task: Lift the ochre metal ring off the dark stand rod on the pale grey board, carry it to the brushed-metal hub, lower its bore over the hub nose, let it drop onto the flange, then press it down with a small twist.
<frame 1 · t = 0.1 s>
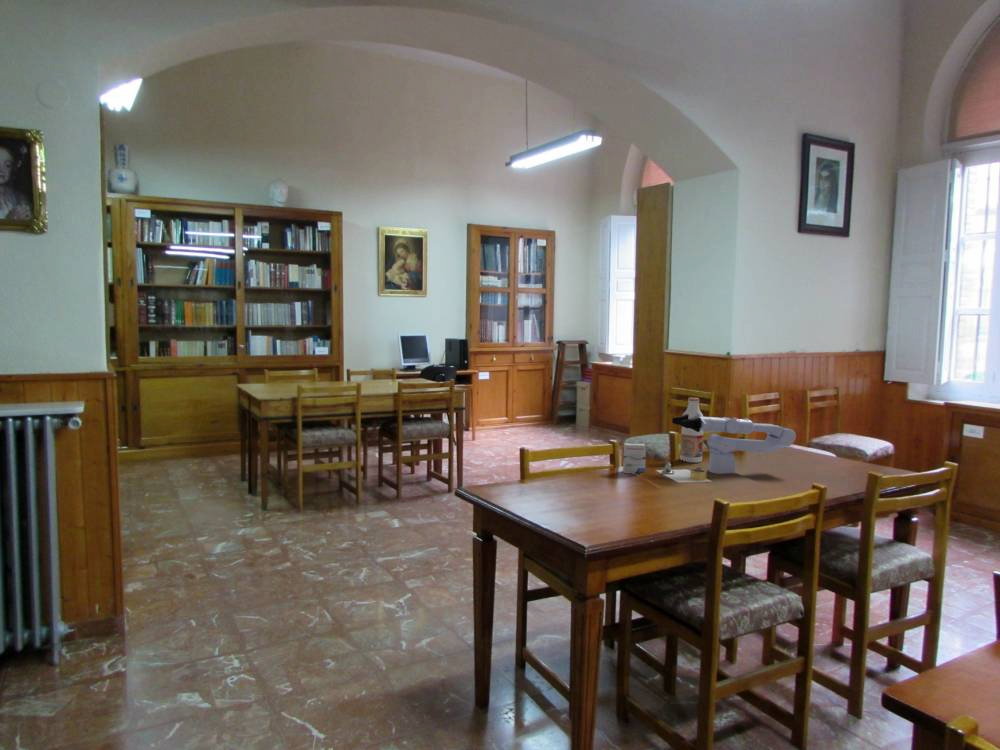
hand: (677, 422, 265), 22 cm above the table, tool horizontal, fingers open, 7 cm apart
hub: (667, 475, 266), resting on board
board: (682, 478, 262), on the table
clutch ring: (698, 478, 258), point 1 cm above the table, touching board
ink box: (633, 473, 270), on the table
fruit juice: (690, 461, 295), on the table
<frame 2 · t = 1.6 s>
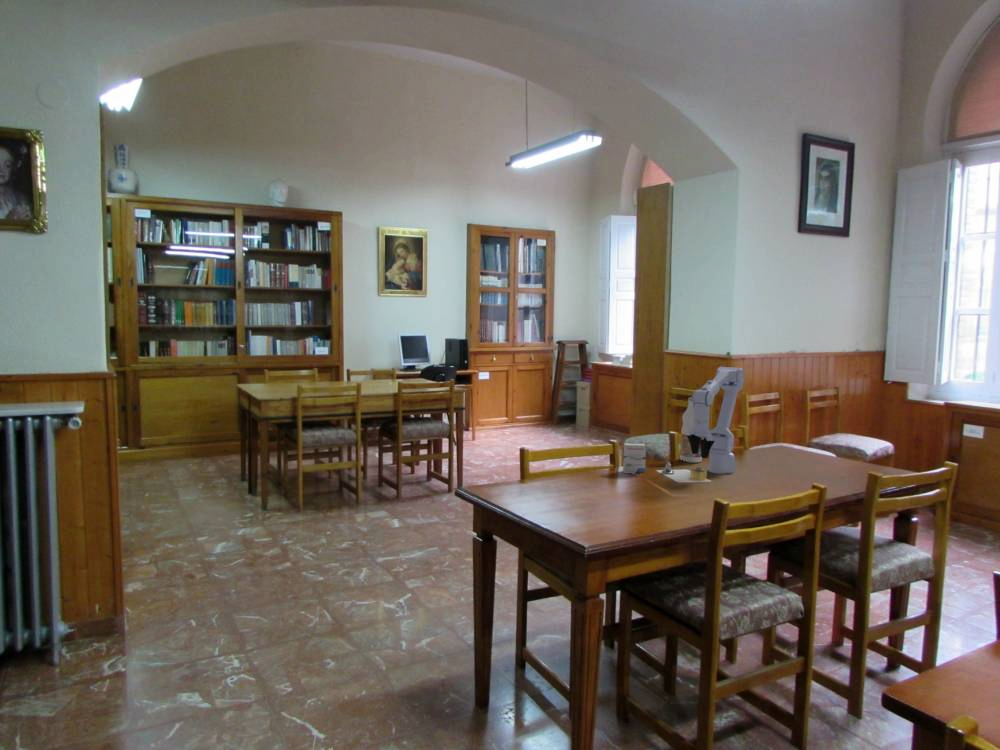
hand: (699, 455, 257), 10 cm above the table, tool pointing down, fingers open, 7 cm apart
nothing on the table moved.
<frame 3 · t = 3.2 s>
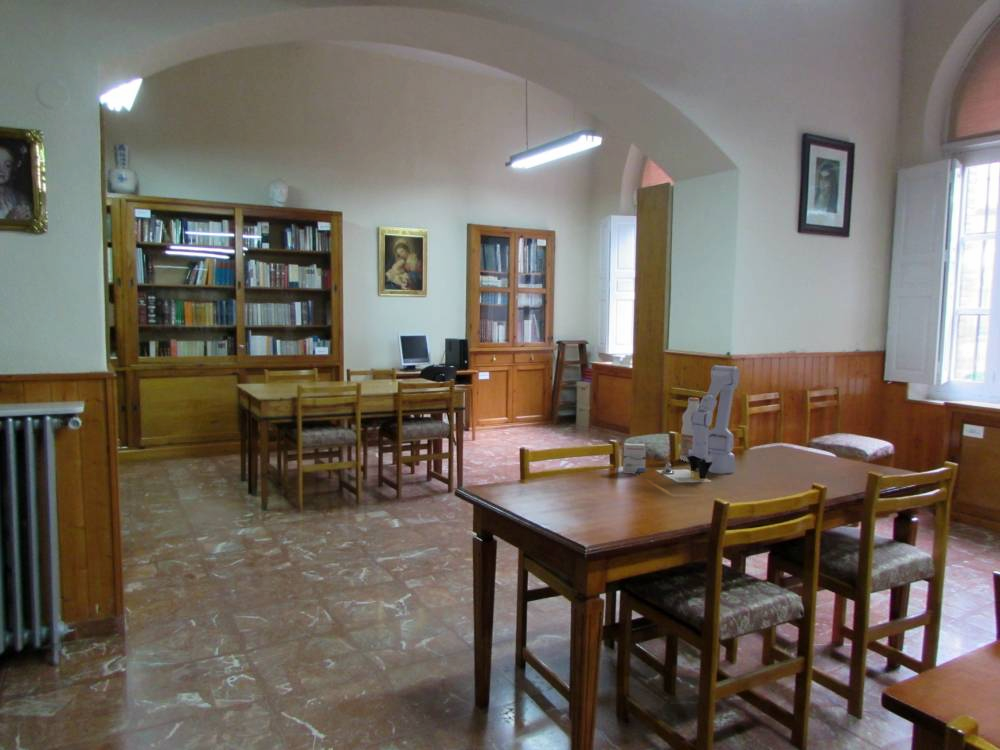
hand: (698, 476, 258), 2 cm above the table, tool pointing down, fingers closed on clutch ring, 6 cm apart
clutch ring: (698, 478, 258), point 1 cm above the table, touching board, gripper
everything else where it was.
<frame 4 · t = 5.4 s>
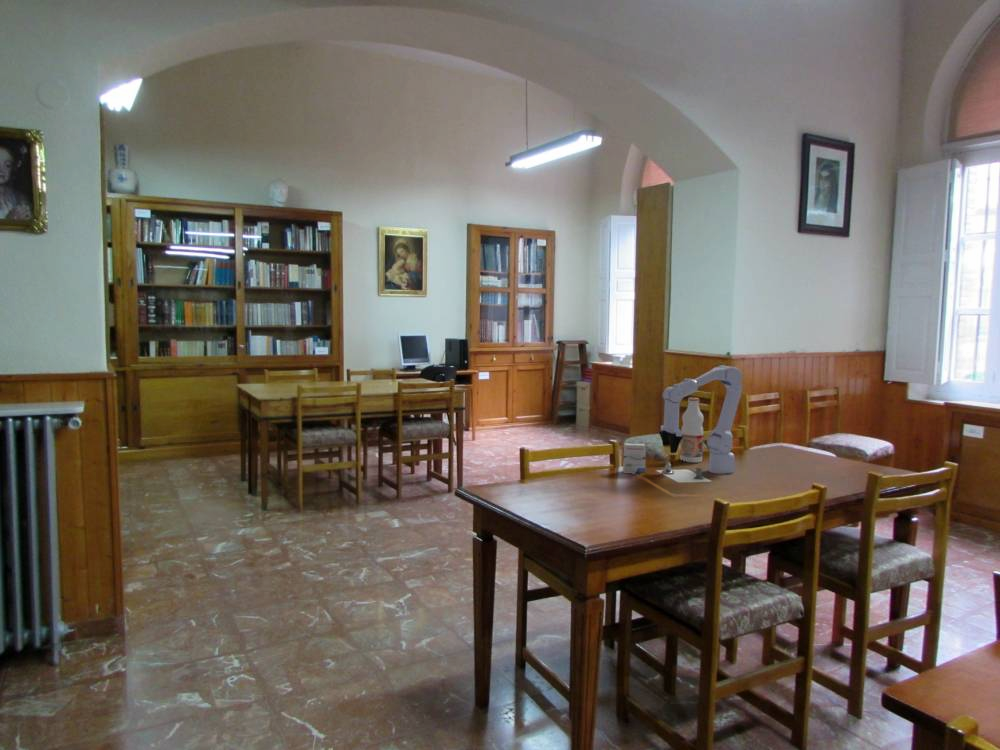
hand: (670, 451, 265), 10 cm above the table, tool pointing down, fingers closed on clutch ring, 6 cm apart
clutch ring: (669, 453, 265), point 9 cm above the table, touching gripper
everything else where it was.
when the fingers open (3 cm above the table, at t = 7.7 s): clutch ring stays where it is, resting on hub.
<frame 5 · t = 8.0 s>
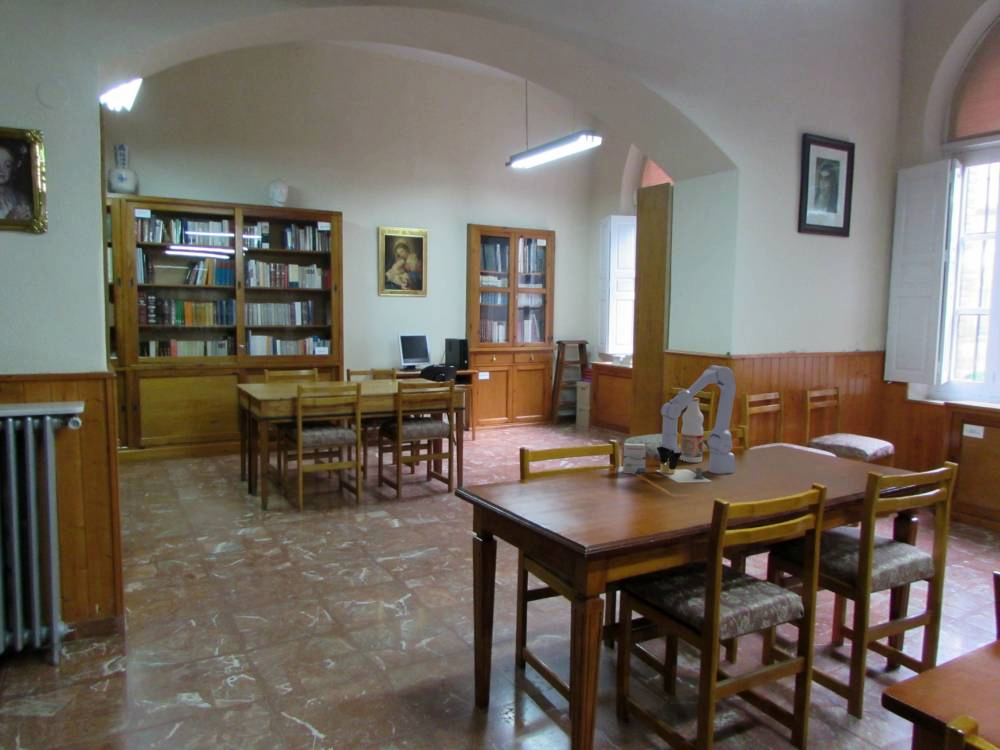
hand: (668, 467, 266), 3 cm above the table, tool pointing down, fingers open, 7 cm apart
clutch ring: (668, 471, 266), point 2 cm above the table, touching hub
everything else where it was.
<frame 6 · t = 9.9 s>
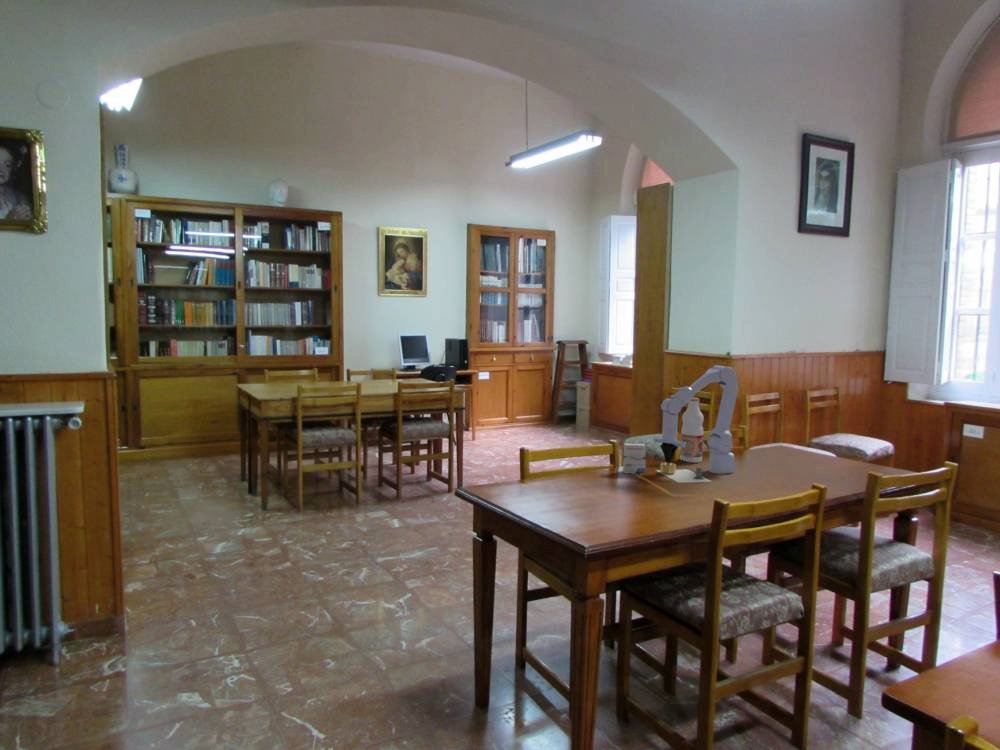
hand: (668, 462, 266), 5 cm above the table, tool pointing down, fingers closed, pressing on hub
nothing on the table moved.
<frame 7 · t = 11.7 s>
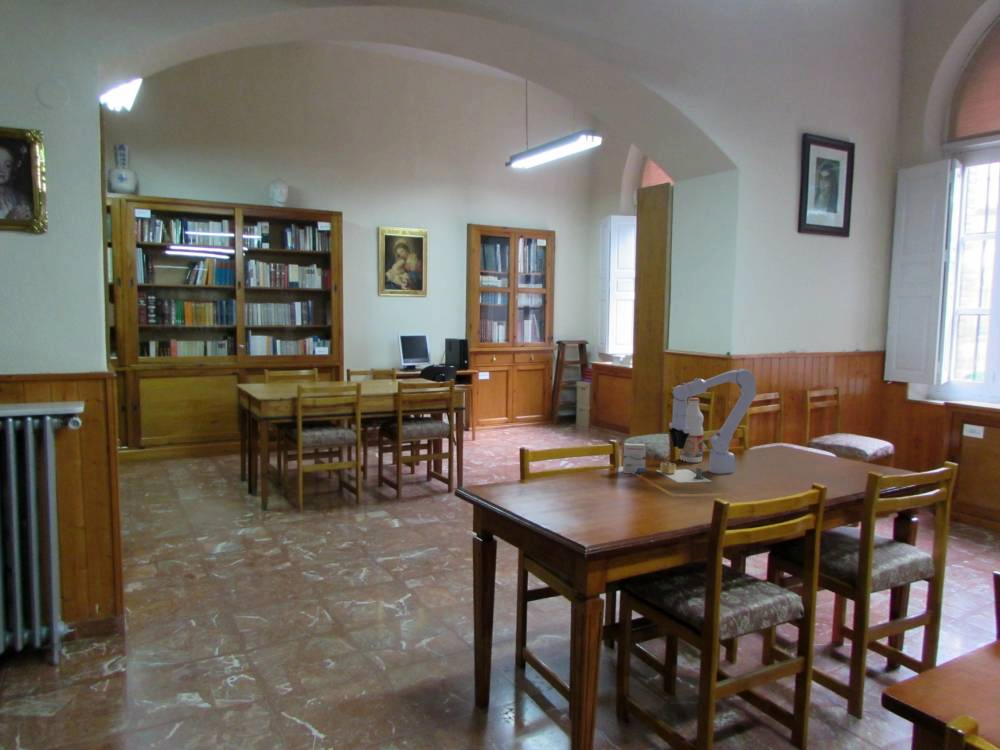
hand: (678, 447, 272), 10 cm above the table, tool pointing down, fingers open, 4 cm apart
nothing on the table moved.
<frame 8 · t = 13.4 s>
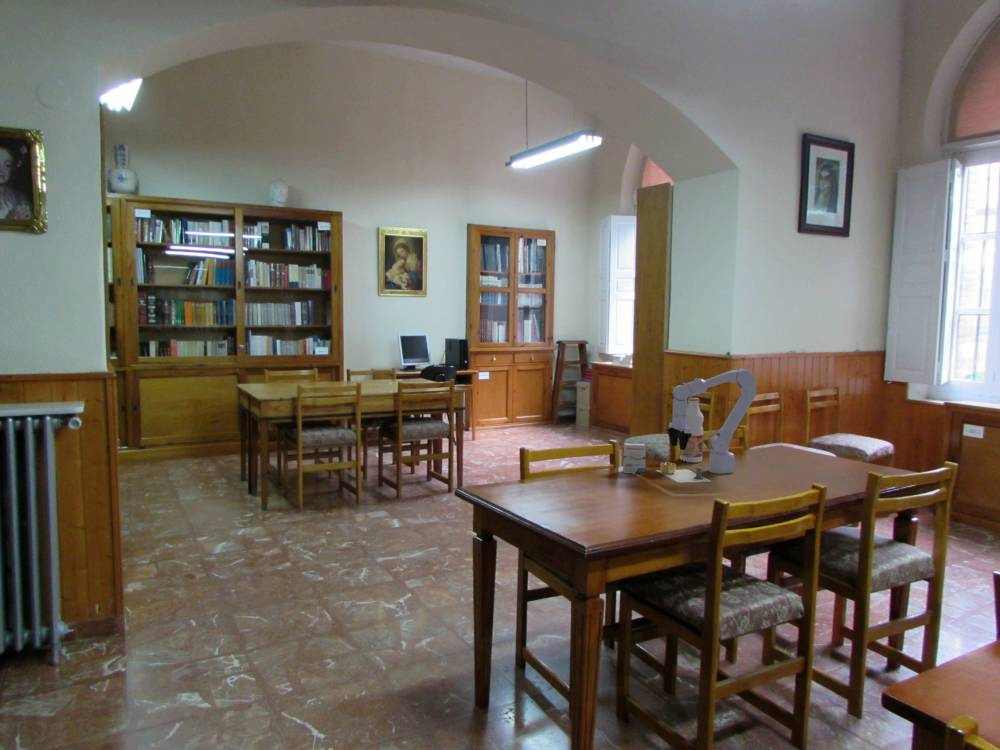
hand: (678, 447, 272), 10 cm above the table, tool pointing down, fingers open, 7 cm apart
nothing on the table moved.
at the end: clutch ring 0.0 cm off-centre on the hub, point 1.6 cm above the hub's base; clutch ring tilted 0°; the gripper is holding nothing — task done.
